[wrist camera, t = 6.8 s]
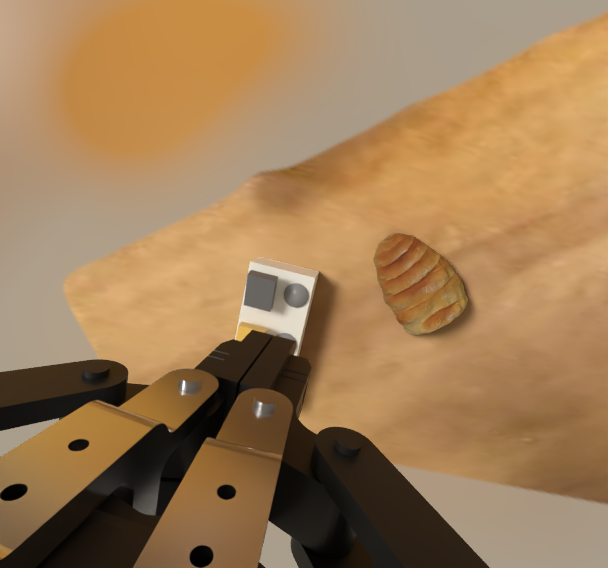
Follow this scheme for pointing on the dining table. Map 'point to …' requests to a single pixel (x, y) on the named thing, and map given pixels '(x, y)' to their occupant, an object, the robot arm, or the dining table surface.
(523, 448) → the dining table surface
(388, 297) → the pastry
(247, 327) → the rocker middle
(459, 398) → the dining table surface
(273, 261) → the white switch panel
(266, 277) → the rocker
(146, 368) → the dining table surface
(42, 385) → the robot arm
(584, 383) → the dining table surface
